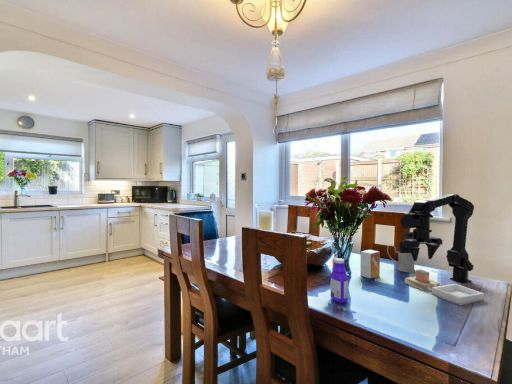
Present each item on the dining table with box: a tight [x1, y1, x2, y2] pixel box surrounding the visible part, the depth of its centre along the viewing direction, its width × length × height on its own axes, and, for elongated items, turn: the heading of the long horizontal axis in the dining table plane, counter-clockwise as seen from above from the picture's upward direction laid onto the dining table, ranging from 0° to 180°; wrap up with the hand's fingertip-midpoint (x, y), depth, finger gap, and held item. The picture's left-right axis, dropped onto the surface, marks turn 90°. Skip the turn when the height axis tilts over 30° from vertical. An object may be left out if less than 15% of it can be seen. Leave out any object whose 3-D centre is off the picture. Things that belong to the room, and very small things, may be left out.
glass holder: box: [386, 241, 416, 273], centre depth 156 cm, size 9×14×15 cm, turn 71°
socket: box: [404, 275, 442, 292], centre depth 130 cm, size 9×11×2 cm
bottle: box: [330, 257, 349, 304], centre depth 115 cm, size 7×6×17 cm
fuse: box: [415, 269, 430, 283], centre depth 130 cm, size 3×5×7 cm
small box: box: [359, 249, 381, 279], centre depth 145 cm, size 8×6×13 cm
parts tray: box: [431, 283, 485, 306], centre depth 117 cm, size 14×12×3 cm
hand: (422, 260), depth 130 cm, fingers open, 9 cm apart
